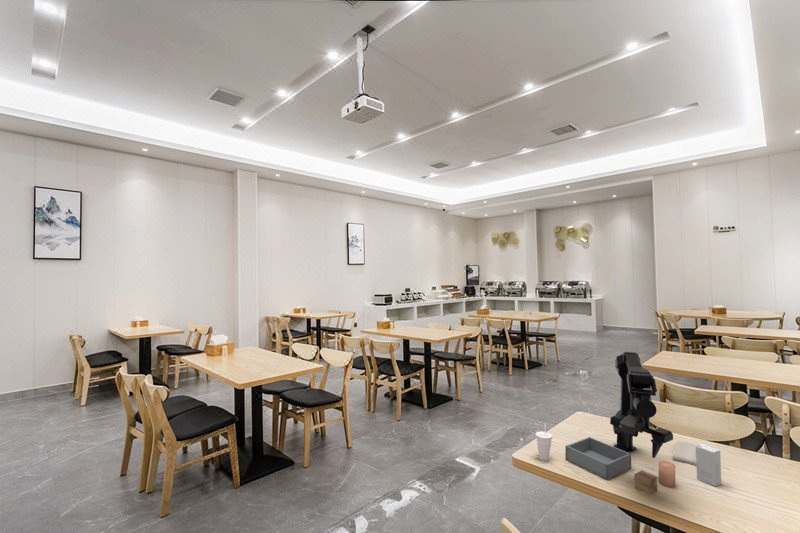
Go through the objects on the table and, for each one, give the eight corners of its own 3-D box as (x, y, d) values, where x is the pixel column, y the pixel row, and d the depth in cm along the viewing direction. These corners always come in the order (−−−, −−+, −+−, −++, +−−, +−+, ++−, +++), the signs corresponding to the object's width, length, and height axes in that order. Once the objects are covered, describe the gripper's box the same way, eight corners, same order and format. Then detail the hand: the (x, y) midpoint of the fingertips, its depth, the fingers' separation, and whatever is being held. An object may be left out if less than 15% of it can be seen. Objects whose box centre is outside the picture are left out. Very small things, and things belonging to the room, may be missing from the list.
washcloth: (711, 453, 166) (711, 445, 166) (709, 471, 152) (709, 463, 152) (676, 445, 173) (676, 438, 173) (671, 461, 159) (671, 453, 159)
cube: (642, 484, 143) (642, 470, 143) (657, 491, 138) (657, 476, 138) (634, 488, 140) (634, 474, 140) (649, 495, 136) (649, 480, 136)
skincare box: (721, 484, 142) (721, 449, 142) (714, 487, 140) (714, 452, 140) (702, 475, 148) (702, 442, 147) (695, 478, 146) (695, 445, 145)
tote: (589, 450, 168) (589, 436, 168) (631, 468, 153) (631, 453, 153) (565, 459, 160) (565, 445, 160) (607, 480, 145) (607, 464, 145)
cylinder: (662, 478, 146) (662, 459, 146) (678, 484, 142) (678, 465, 142) (655, 482, 143) (655, 462, 143) (670, 489, 139) (670, 469, 139)
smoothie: (553, 463, 158) (553, 427, 157) (536, 461, 159) (536, 426, 159) (551, 455, 164) (550, 421, 164) (534, 454, 165) (534, 420, 165)
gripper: (600, 403, 144) (600, 447, 144) (655, 421, 128) (655, 470, 128) (619, 398, 150) (619, 440, 150) (673, 414, 133) (674, 461, 133)
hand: (640, 452), depth 140 cm, fingers open, 9 cm apart
